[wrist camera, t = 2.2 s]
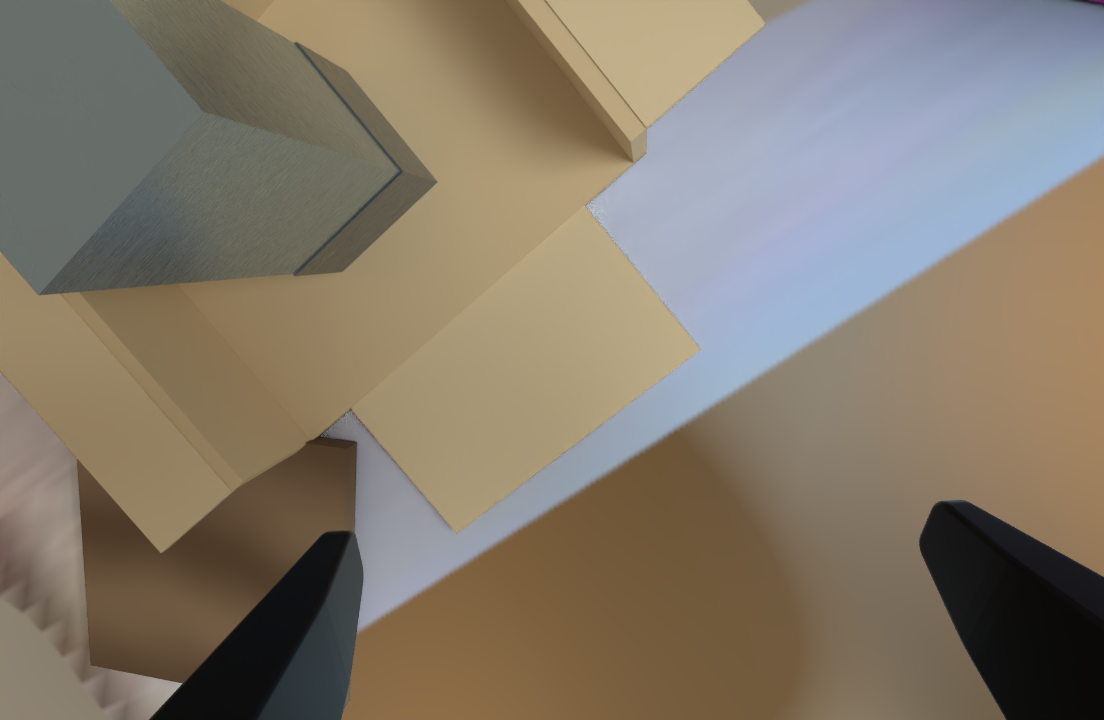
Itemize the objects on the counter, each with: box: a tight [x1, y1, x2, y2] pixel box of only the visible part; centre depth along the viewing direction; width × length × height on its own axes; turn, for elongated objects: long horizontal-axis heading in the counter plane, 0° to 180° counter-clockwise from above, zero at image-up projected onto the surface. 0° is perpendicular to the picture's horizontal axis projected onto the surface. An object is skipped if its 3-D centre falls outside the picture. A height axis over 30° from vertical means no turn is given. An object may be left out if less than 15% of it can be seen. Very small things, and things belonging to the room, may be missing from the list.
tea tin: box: [0, 0, 437, 295], centre depth 15 cm, size 5×5×11 cm
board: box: [77, 437, 357, 708], centre depth 24 cm, size 11×11×1 cm
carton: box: [0, 0, 766, 553], centre depth 19 cm, size 22×23×4 cm
